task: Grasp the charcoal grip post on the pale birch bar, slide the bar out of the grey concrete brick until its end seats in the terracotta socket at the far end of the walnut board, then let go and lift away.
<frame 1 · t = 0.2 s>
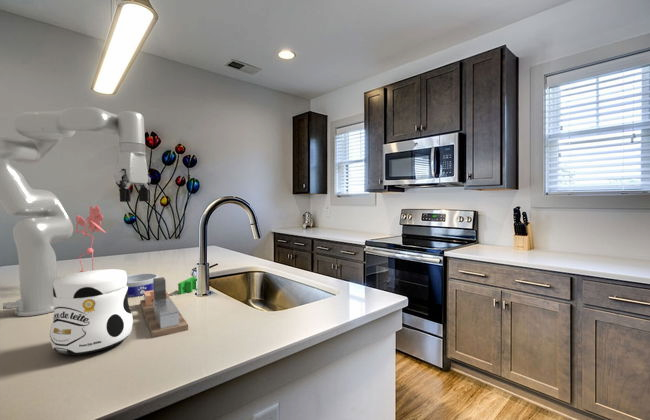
hand: (135, 201, 109), 37 cm above the worktop, tool pointing down, fingers open, 9 cm apart
pipe clamp: (190, 291, 133), on the worktop
grey concrete brick: (165, 312, 97), on the board, point 4 cm above the worktop
milk container: (94, 345, 84), on the worktop
socket: (155, 296, 115), on the board, point 3 cm above the worktop
figurine: (98, 283, 146), on the worktop
bar: (163, 299, 100), point 7 cm above the worktop, slide at 0.0 cm
board: (160, 314, 106), on the worktop
dog bowl: (137, 292, 131), on the worktop
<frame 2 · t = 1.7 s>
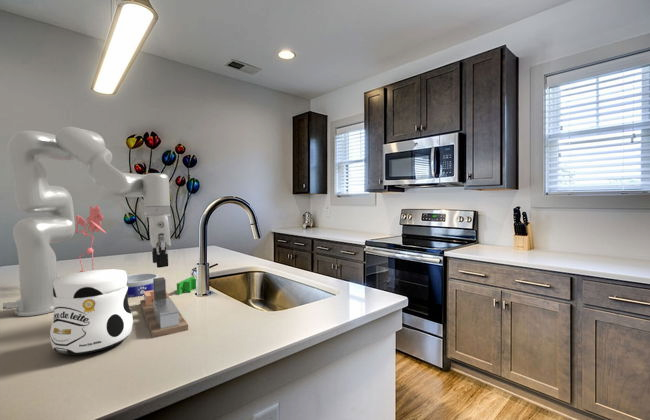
hand: (160, 264, 106), 16 cm above the worktop, tool pointing down, fingers open, 9 cm apart
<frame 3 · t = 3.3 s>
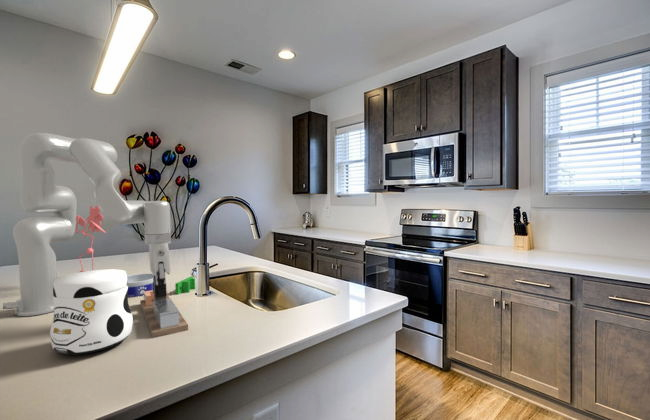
hand: (159, 294, 106), 6 cm above the worktop, tool pointing down, fingers closed on bar, 4 cm apart
bar: (163, 299, 100), point 7 cm above the worktop, slide at 0.0 cm, touching gripper
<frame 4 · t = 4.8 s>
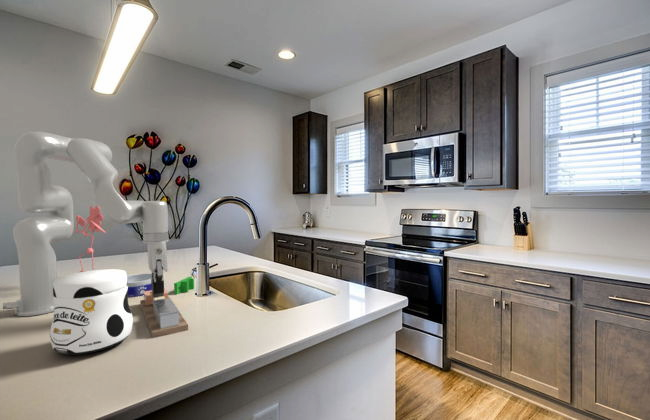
hand: (157, 291, 110), 6 cm above the worktop, tool pointing down, fingers closed on bar, 4 cm apart
bar: (160, 295, 104), point 7 cm above the worktop, slide at 4.6 cm, touching gripper
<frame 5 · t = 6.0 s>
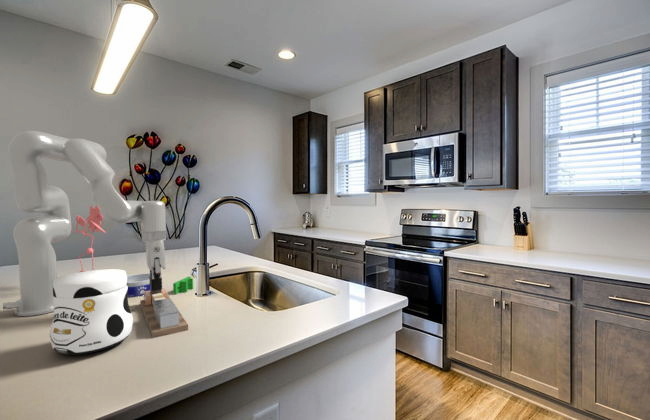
hand: (155, 287, 114), 6 cm above the worktop, tool pointing down, fingers closed on bar, 4 cm apart
bar: (158, 291, 108), point 7 cm above the worktop, slide at 9.3 cm, touching gripper
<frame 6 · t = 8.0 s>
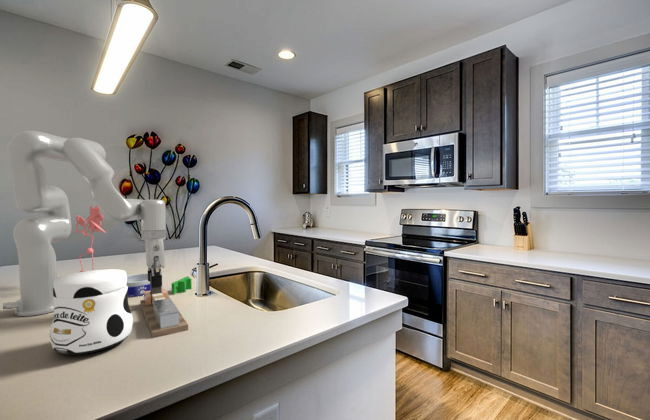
hand: (154, 283, 114), 8 cm above the worktop, tool pointing down, fingers open, 9 cm apart
bar: (158, 292, 108), point 7 cm above the worktop, slide at 9.2 cm
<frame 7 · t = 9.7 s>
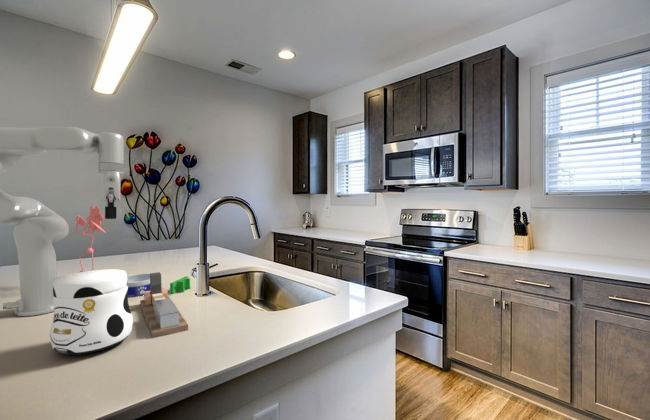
hand: (110, 217, 114), 31 cm above the worktop, tool pointing down, fingers open, 9 cm apart
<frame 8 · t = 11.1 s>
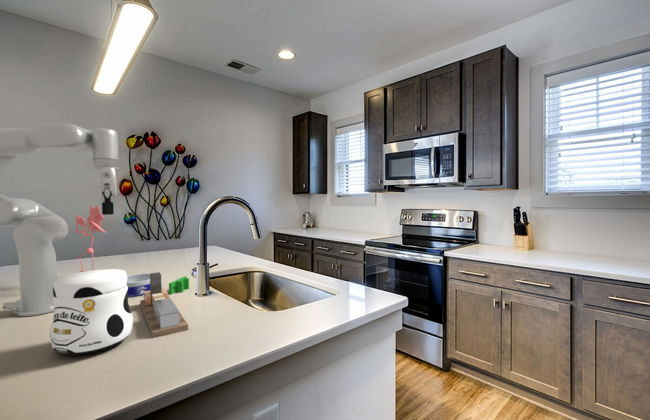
hand: (107, 213, 114), 32 cm above the worktop, tool pointing down, fingers open, 9 cm apart
at the end: bar slide at 9.2 cm; the gripper is holding nothing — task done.
